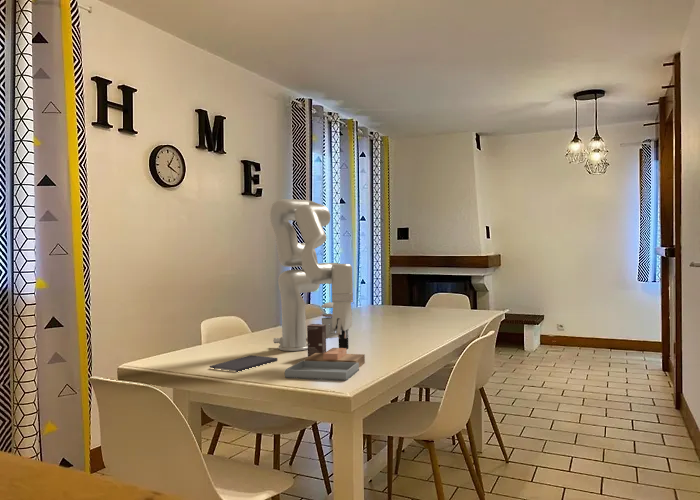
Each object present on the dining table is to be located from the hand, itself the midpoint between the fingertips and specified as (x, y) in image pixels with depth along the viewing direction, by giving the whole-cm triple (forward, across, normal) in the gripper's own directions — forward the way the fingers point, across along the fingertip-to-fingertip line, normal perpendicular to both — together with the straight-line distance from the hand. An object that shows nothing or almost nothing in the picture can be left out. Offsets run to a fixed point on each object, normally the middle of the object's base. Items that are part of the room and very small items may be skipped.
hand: (343, 349), depth 203 cm
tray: (+4, +23, 0) cm, 23 cm away
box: (+4, -2, -11) cm, 12 cm away
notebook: (+4, +15, -32) cm, 36 cm away
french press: (+4, -50, -21) cm, 55 cm away
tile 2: (+1, +7, 0) cm, 7 cm away
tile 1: (+1, +13, 0) cm, 13 cm away
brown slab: (+4, +10, 0) cm, 11 cm away
